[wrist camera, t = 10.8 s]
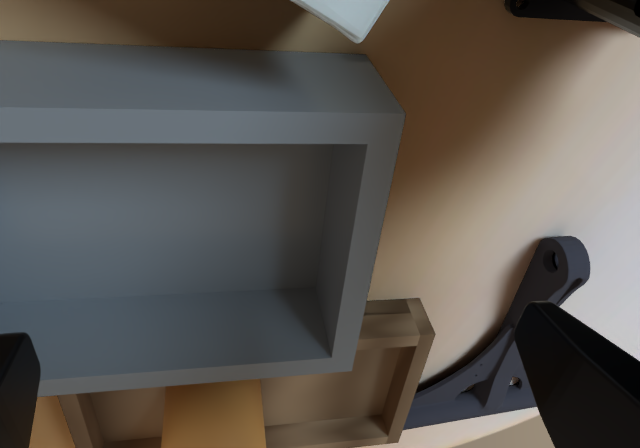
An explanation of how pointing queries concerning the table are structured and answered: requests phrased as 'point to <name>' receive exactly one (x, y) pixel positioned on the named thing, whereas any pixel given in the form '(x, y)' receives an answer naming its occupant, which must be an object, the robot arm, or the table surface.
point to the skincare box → (346, 15)
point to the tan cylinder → (214, 415)
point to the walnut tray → (292, 394)
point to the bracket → (504, 345)
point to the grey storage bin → (189, 210)
